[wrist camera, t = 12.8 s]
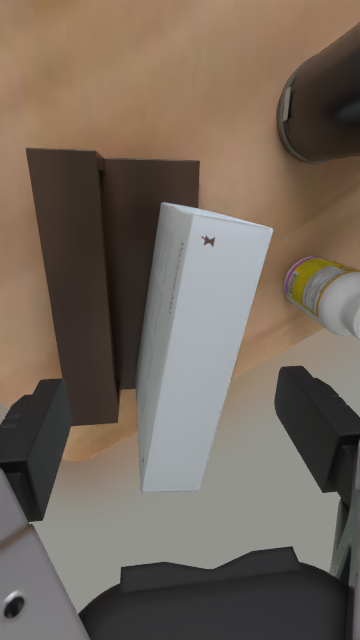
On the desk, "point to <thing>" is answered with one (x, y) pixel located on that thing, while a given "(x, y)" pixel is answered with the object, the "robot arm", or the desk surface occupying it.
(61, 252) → the metal step block
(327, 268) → the supplement bottle
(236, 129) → the desk surface
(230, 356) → the skincare box
